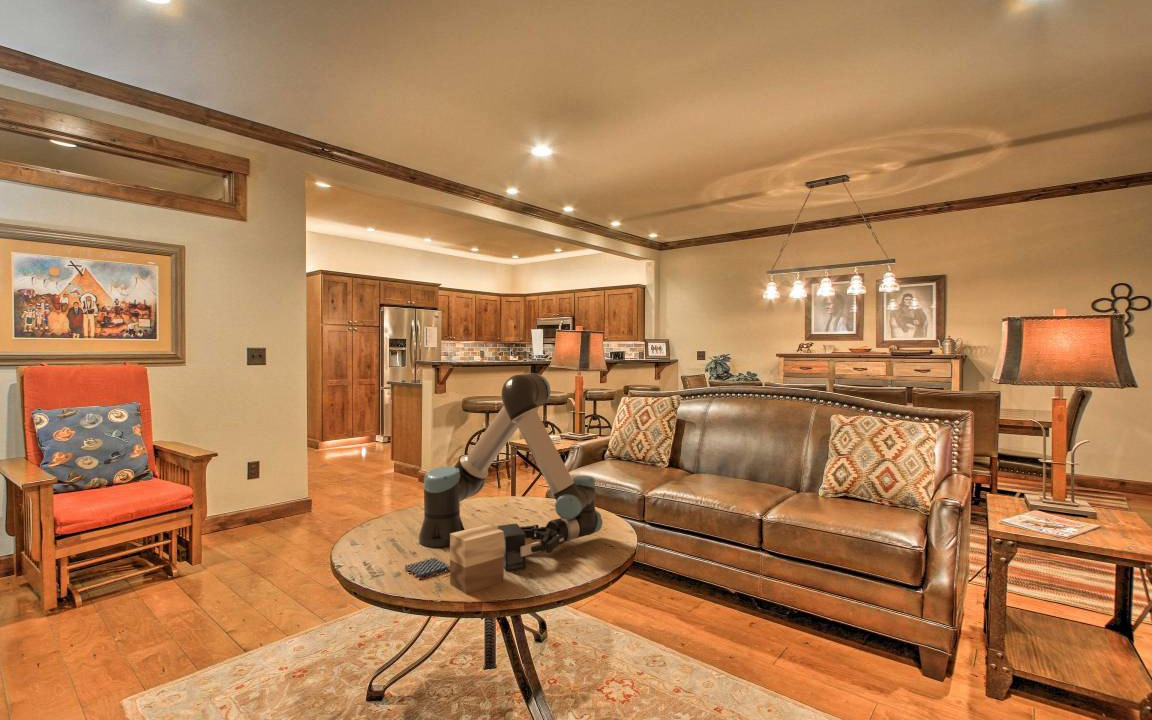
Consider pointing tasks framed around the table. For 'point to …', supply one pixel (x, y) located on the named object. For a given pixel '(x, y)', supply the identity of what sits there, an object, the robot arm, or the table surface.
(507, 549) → the small box
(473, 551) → the tower top
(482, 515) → the table surface
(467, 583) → the tower base
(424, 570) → the woven mat
